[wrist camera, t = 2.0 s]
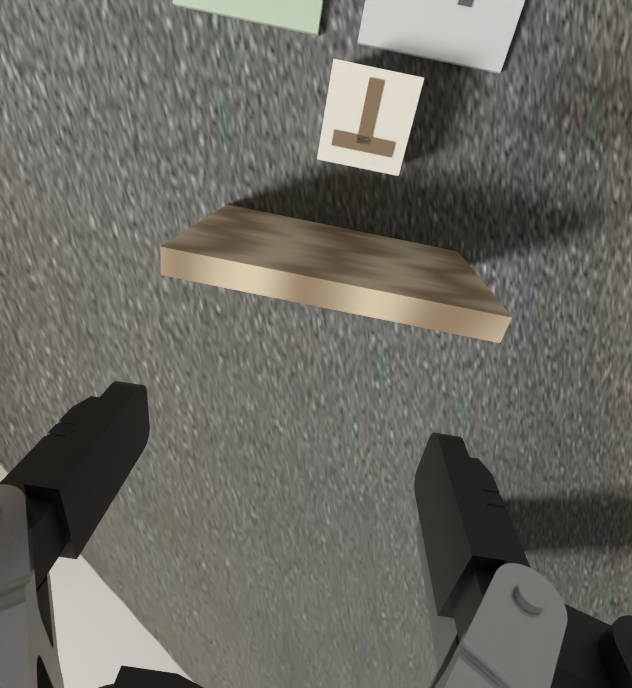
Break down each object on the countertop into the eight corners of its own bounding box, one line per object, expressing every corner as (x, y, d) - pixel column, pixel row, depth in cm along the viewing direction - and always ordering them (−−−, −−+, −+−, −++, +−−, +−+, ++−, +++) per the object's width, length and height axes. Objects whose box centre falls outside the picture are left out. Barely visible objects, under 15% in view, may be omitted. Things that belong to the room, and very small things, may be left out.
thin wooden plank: (457, 251, 31) (511, 317, 20) (451, 269, 31) (500, 343, 21) (227, 204, 30) (160, 246, 20) (226, 224, 31) (160, 274, 21)
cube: (412, 85, 26) (424, 77, 21) (391, 168, 28) (398, 176, 24) (337, 69, 26) (333, 58, 21) (322, 153, 28) (316, 159, 24)
